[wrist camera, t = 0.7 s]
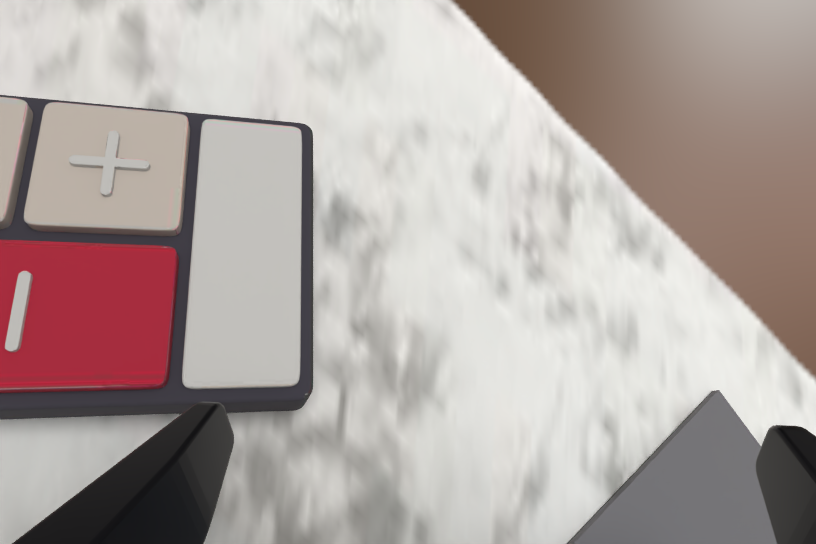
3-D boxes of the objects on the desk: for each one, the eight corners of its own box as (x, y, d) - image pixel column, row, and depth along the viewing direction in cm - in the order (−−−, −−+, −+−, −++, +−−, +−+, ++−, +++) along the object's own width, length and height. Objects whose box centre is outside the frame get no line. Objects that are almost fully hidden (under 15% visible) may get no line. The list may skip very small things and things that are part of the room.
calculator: (-156, 63, 17) (315, 111, 21) (-80, 138, 21) (307, 167, 25) (-278, 415, 14) (315, 397, 18) (-159, 427, 18) (305, 410, 22)
